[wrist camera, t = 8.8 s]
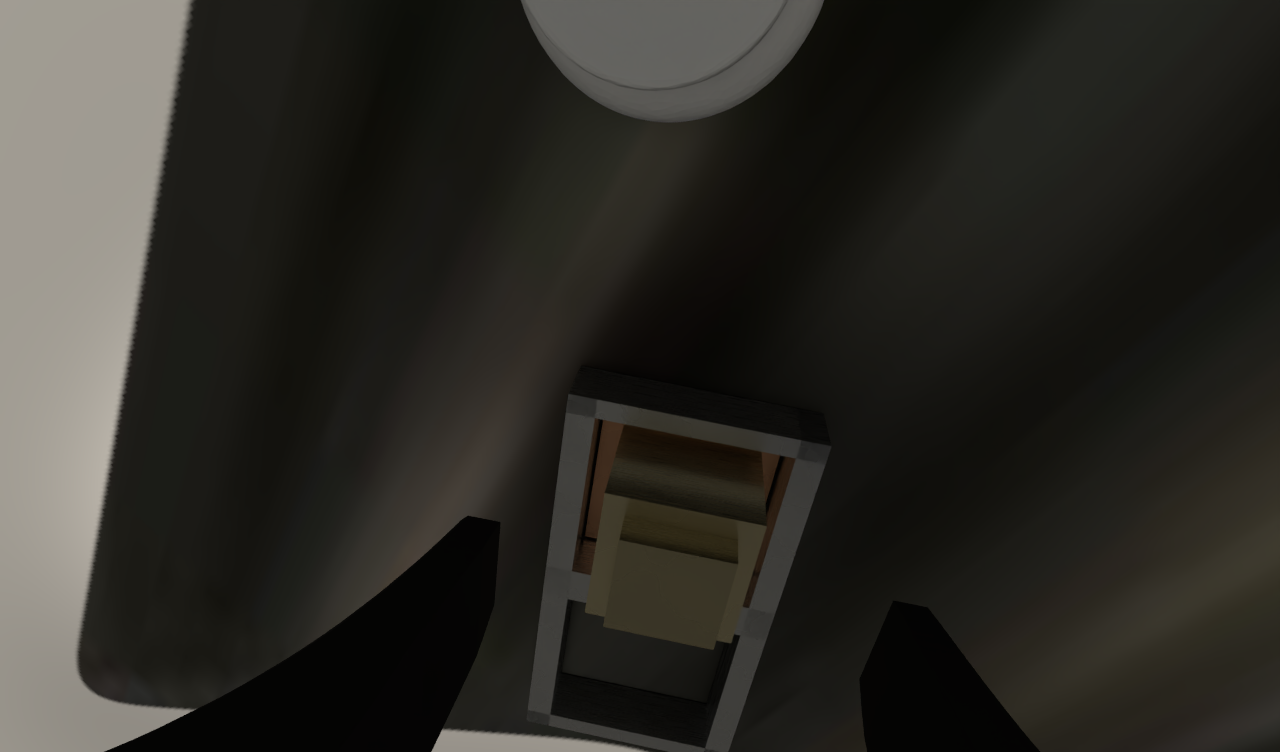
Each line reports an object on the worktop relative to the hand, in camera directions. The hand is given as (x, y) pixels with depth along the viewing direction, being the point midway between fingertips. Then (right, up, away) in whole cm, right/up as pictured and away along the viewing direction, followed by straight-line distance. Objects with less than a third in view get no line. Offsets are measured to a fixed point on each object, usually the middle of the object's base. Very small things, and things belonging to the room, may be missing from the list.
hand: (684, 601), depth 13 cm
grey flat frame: (0, -3, +13) cm, 14 cm away
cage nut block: (+1, 0, +11) cm, 11 cm away
